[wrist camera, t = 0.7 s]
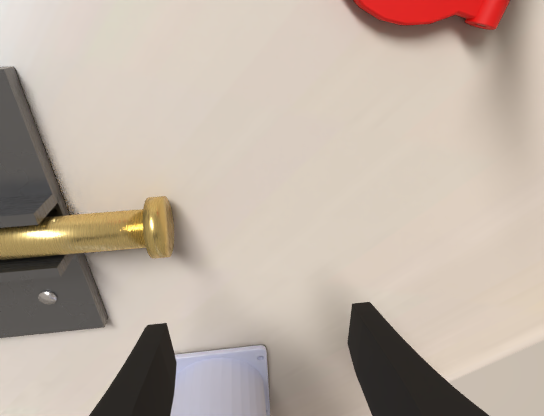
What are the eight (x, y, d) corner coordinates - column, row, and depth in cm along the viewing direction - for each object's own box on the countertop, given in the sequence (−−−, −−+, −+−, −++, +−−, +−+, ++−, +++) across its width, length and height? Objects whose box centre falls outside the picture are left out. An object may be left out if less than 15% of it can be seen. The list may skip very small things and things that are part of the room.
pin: (176, 234, 20) (168, 269, 18) (-56, 254, 19) (-103, 294, 17) (166, 185, 19) (155, 216, 16) (-87, 204, 18) (-144, 240, 15)
